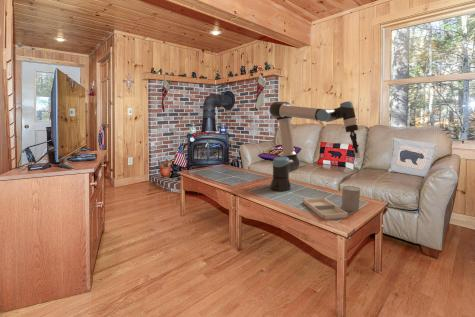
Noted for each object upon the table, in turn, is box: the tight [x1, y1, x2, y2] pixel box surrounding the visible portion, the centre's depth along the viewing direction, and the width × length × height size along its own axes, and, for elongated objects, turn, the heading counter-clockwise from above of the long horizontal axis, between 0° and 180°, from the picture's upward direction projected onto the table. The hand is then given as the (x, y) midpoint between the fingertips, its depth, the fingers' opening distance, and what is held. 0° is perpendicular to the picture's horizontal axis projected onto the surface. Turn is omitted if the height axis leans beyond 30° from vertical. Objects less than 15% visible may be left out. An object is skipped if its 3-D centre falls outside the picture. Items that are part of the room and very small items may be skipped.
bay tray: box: [302, 197, 349, 220], centre depth 156 cm, size 27×14×2 cm, turn 9°
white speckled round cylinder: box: [340, 185, 361, 212], centre depth 156 cm, size 10×10×12 cm
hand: (357, 157), depth 173 cm, fingers open, 13 cm apart
